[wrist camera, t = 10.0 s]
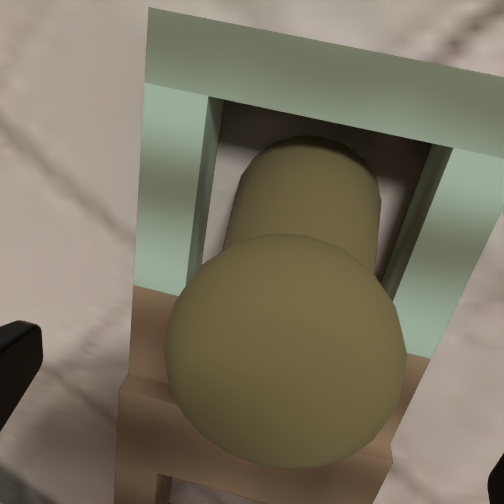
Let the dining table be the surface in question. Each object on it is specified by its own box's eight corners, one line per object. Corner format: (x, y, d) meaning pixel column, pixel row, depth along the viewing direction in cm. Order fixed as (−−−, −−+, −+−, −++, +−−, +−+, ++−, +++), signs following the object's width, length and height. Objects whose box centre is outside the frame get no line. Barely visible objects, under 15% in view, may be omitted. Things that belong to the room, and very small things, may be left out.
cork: (384, 268, 18) (444, 523, 8) (248, 277, 20) (163, 507, 10) (377, 124, 16) (451, 250, 6) (222, 146, 17) (75, 278, 7)
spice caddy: (312, 565, 28) (309, 629, 25) (134, 513, 29) (111, 569, 26) (525, 82, 14) (578, 91, 11) (175, 13, 15) (135, 4, 12)
